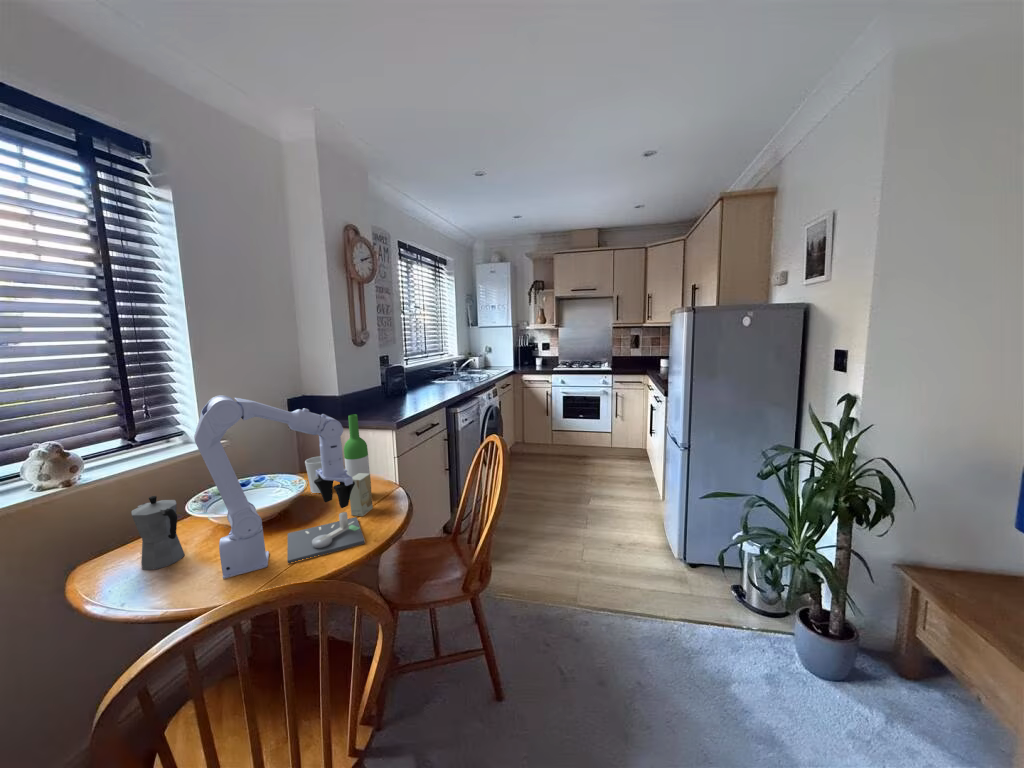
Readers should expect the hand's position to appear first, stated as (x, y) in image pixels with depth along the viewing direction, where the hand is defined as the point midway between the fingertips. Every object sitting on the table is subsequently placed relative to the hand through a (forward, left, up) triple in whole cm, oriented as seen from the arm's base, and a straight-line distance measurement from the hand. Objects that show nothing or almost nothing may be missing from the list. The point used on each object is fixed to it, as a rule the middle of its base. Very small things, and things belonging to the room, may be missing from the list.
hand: (336, 503), depth 117 cm
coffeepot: (-42, +9, -10) cm, 44 cm away
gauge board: (-4, -2, -9) cm, 10 cm away
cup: (-3, +38, -10) cm, 40 cm away
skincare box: (+8, +11, -10) cm, 17 cm away
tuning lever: (-1, -3, -8) cm, 9 cm away
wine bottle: (+9, +23, -10) cm, 27 cm away
